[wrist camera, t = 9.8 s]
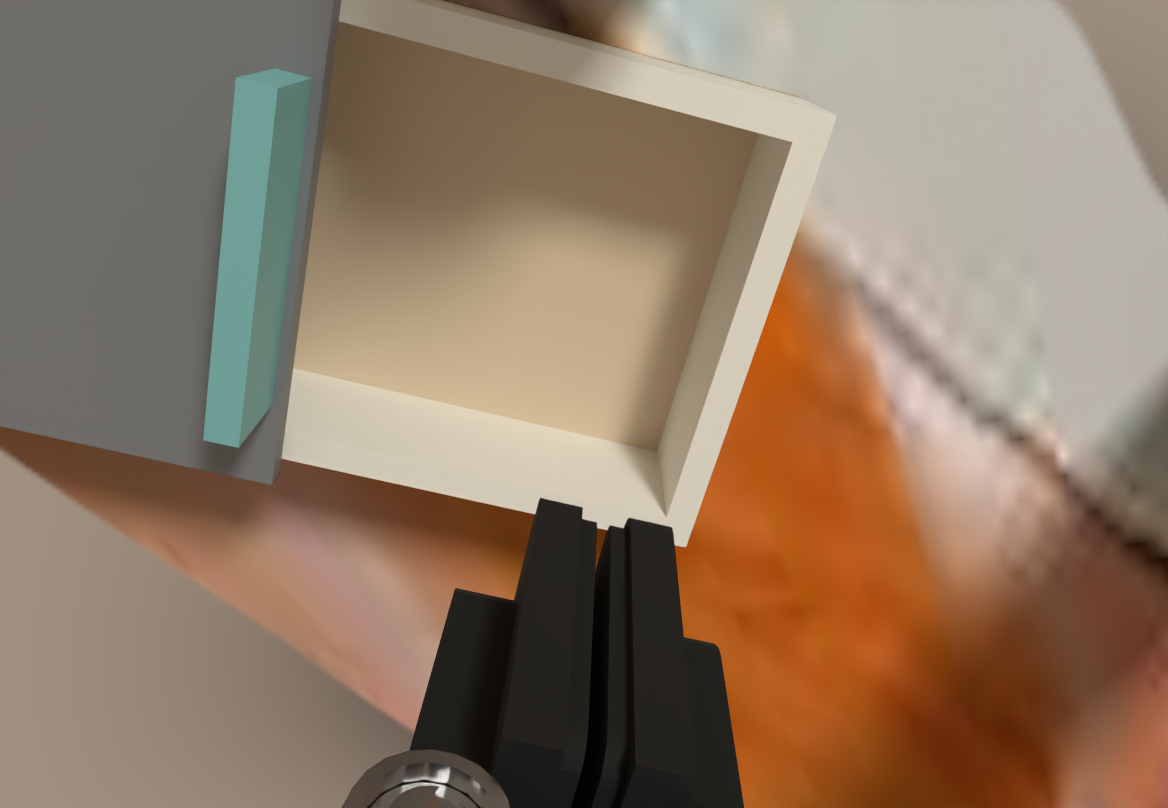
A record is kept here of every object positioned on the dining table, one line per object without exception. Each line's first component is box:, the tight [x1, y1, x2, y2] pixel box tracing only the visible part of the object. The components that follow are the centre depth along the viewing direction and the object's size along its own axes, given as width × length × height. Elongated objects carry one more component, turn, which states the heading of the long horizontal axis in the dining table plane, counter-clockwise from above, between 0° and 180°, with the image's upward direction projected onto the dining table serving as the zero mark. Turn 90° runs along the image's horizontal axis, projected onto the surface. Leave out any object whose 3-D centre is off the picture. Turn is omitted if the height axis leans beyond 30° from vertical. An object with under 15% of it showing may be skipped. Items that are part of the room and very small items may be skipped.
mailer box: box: [281, 0, 837, 547], centre depth 31 cm, size 20×15×6 cm
